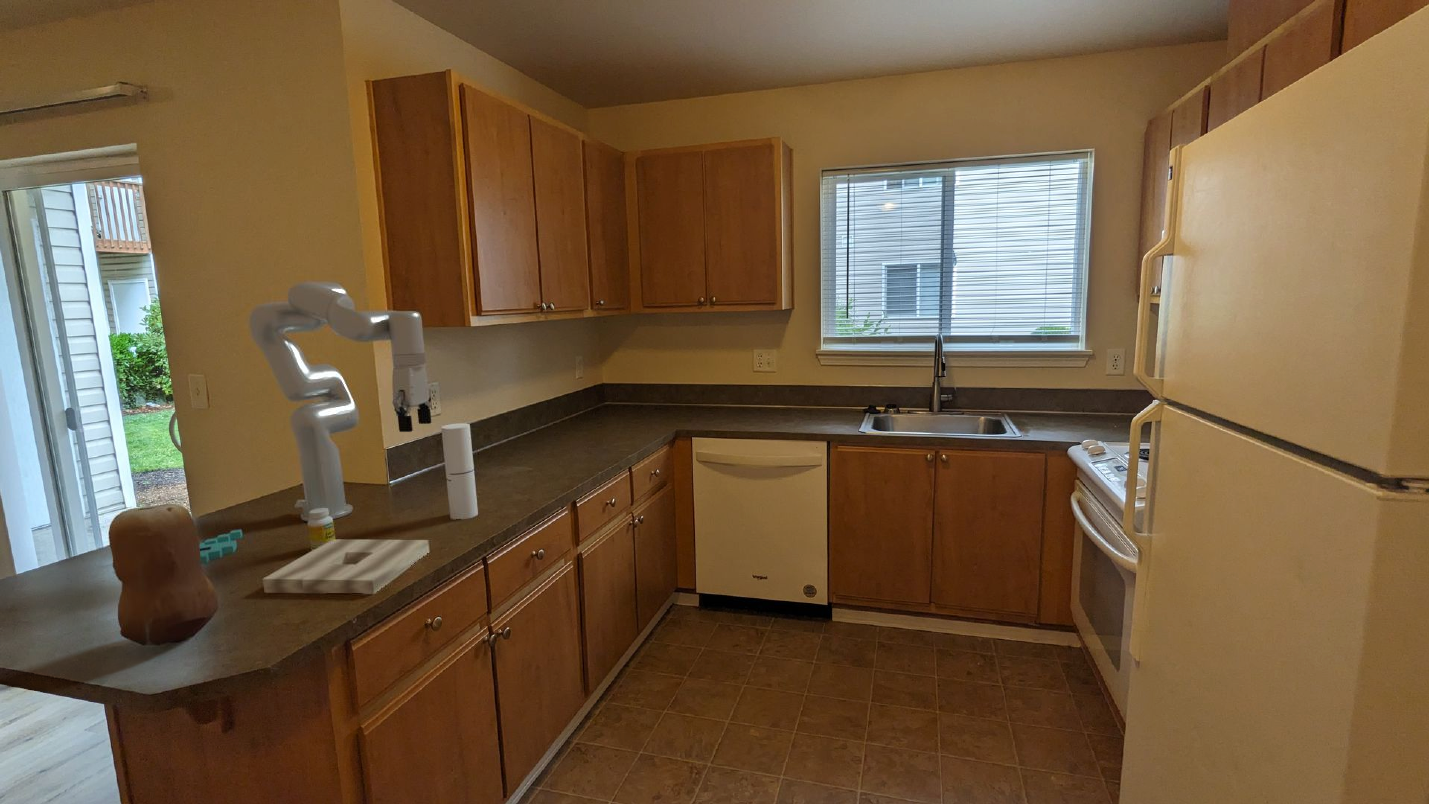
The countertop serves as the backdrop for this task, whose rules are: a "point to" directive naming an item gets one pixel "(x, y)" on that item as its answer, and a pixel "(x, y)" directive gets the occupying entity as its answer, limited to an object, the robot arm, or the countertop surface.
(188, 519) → the butternut squash
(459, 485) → the cylindrical container
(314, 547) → the supplement bottle
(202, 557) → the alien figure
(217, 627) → the countertop surface
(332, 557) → the socket board
